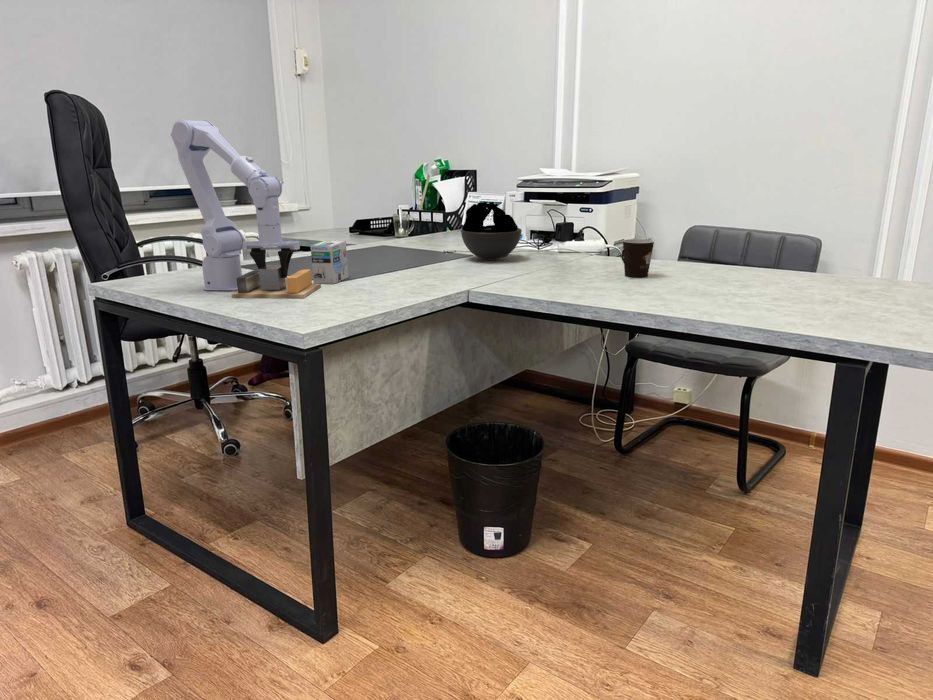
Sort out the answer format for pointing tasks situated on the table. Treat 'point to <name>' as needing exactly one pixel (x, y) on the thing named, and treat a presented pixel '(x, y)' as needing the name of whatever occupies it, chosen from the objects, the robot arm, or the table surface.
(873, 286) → the table surface
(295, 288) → the block
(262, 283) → the steel block
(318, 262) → the light bulb box
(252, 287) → the vise
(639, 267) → the coffee mug
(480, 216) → the coal bowl
